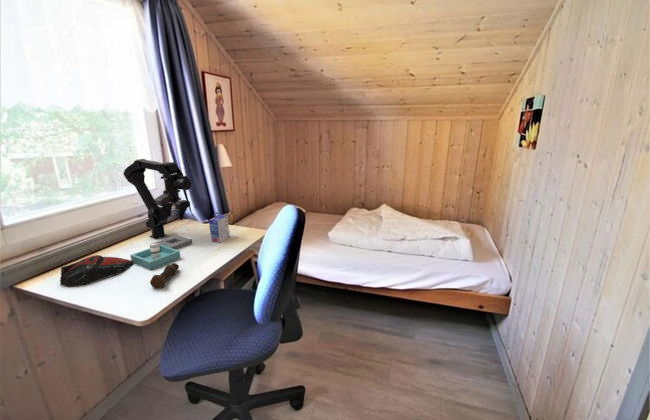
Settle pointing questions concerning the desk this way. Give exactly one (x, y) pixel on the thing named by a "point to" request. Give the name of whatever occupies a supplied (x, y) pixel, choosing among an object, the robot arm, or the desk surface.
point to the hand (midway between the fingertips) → (175, 218)
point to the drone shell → (92, 270)
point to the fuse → (155, 250)
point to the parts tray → (145, 259)
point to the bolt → (164, 276)
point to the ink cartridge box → (219, 228)
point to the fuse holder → (178, 239)
